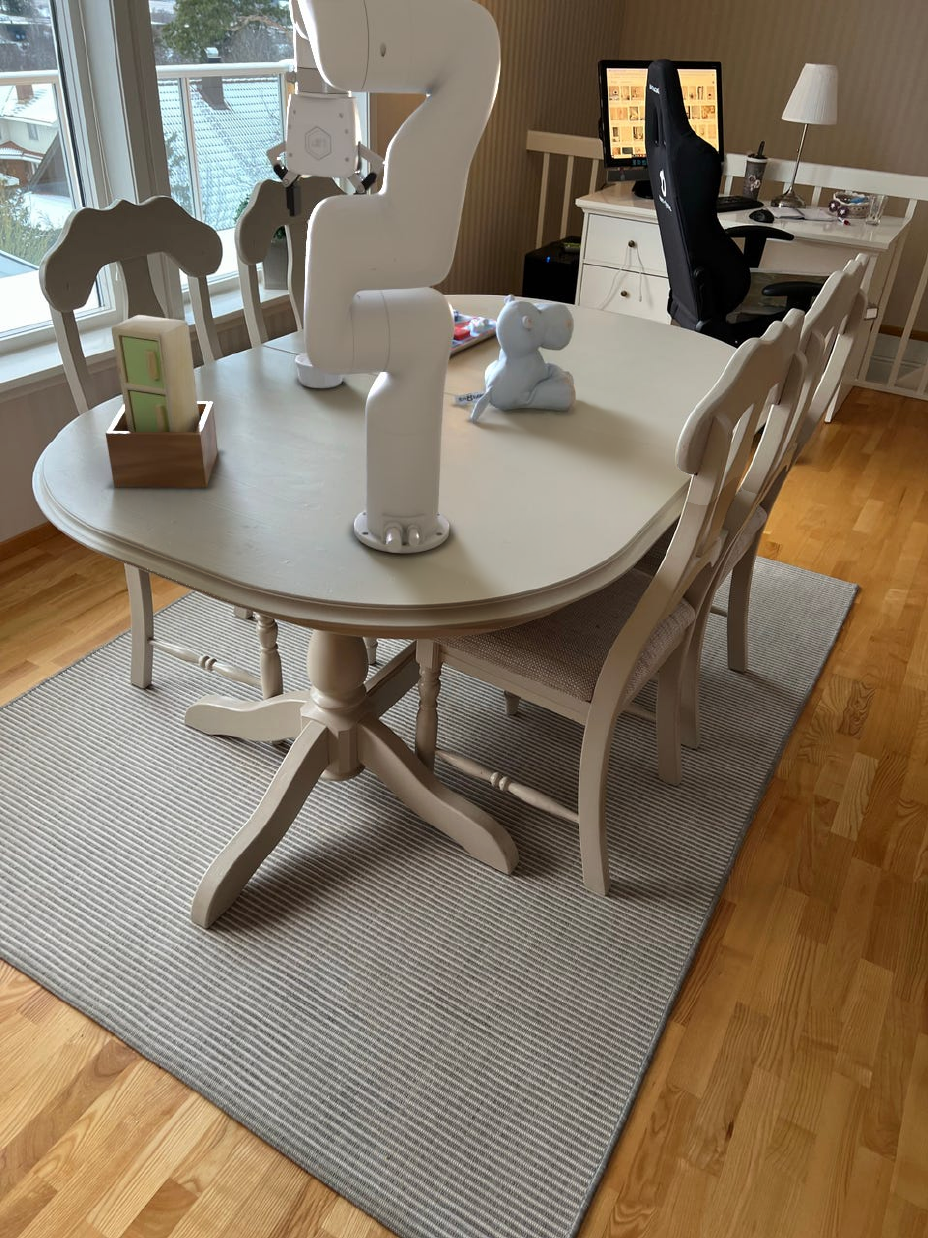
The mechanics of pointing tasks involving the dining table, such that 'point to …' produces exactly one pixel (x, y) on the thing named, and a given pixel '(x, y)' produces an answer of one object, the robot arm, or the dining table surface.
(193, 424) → the toy refrigerator
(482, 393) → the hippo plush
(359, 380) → the dining table surface
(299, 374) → the ramekin
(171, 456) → the open wooden box
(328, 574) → the dining table surface
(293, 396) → the dining table surface
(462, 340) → the puzzle board
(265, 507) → the dining table surface
